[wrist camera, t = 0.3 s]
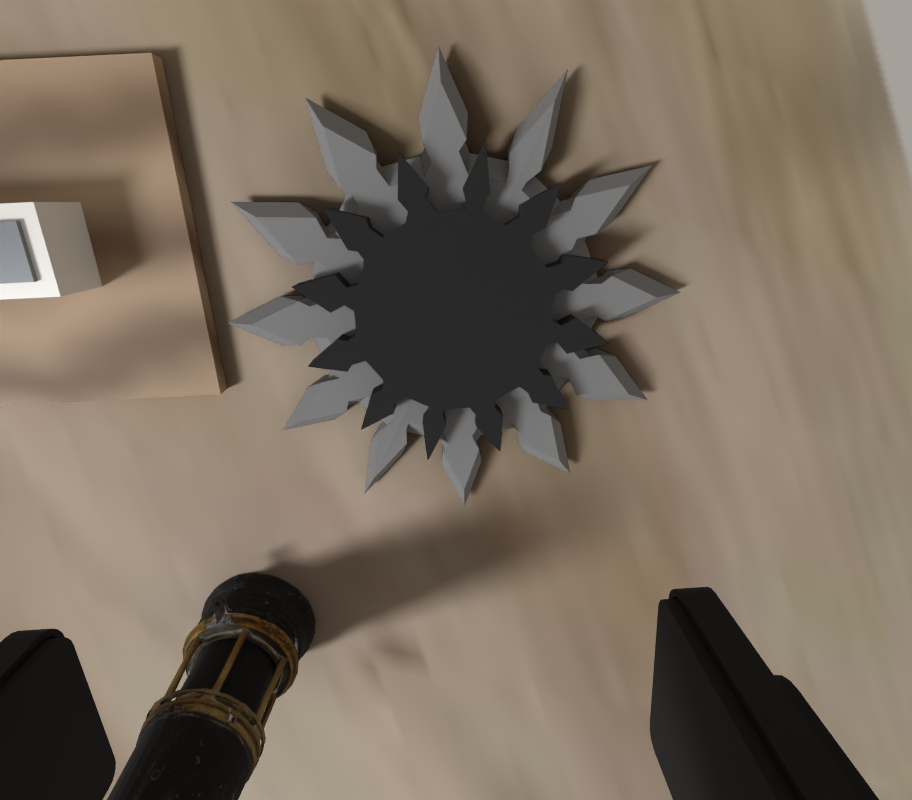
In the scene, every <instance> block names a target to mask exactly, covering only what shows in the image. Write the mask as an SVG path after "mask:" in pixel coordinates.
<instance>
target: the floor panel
mask: <svg viewBox="0 0 912 800" xmlns="http://www.w3.org/2000/svg"><path fill="white" fill-rule="evenodd" d="M23 202H81V206H82V210H83V214H84V218H85V221H86V225H87V229H88V233H89V237H90V241H91V244H92V248H93V252H94V256H95V260H96V264H97V267H98V271H99V275H100V279H101V283H102V287H98V288H94V289H90V290H86V291H82V292H78V293H74V294H70V295H65V296H61V297H44V298H24V299H3V300H0V405H14V404H34V403H54V402H74V401H94V400H114V399H134V398H154V397H174V396H194V395H214V394H221V393H223V392H224V391H225V390H226V389H227V385H226V380H225V375H224V370H223V365H222V360H221V355H220V350H219V345H218V340H217V334H216V329H215V324H214V319H213V314H212V309H211V304H210V299H209V294H208V289H207V284H206V279H205V274H204V269H203V264H202V258H201V253H200V248H199V243H198V238H197V233H196V228H195V223H194V218H193V213H192V208H191V203H190V198H189V193H188V188H187V182H186V177H185V172H184V167H183V162H182V157H181V152H180V147H179V142H178V137H177V132H176V127H175V122H174V117H173V112H172V107H171V101H170V96H169V91H168V86H167V81H166V76H165V71H164V66H163V61H162V58H161V57H159V56H157V55H155V54H153V53H136V54H116V55H95V56H74V57H54V58H33V59H12V60H0V204H3V203H23Z"/></svg>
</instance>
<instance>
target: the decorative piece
mask: <svg viewBox="0 0 912 800" xmlns="http://www.w3.org/2000/svg"><path fill="white" fill-rule="evenodd" d="M567 71H568V69H567ZM567 71H566V72H565V73H564V74H563V75H562V76H561V78H560V79H559V80H558V81H557V82H556V83H555V85H554V86H553V87H552V88H551V89H550V90H549V92H548V93H547V94H546V95H545V96H544V98H543V99H542V100H541V101H540V102H539V103H538V105H537V106H536V107H535V108H534V109H533V110H532V112H531V113H530V114H529V115H528V116H527V117H526V119H525V120H524V121H523V122H522V123H521V124H520V126H519V127H518V128H517V129H516V131H515V134H514V136H513V139H512V141H511V144H510V146H509V149H508V161H505V160H500V159H495V158H491V157H487V148H486V140H485V142H484V144H483V146H482V148H481V150H480V152H479V154H478V155H476V154H471V153H469V150H468V148H467V145H466V143H465V141H466V139H467V122H468V112H467V110H466V107H465V105H464V103H463V101H462V98H461V96H460V94H459V91H458V89H457V87H456V85H455V82H454V80H453V78H452V76H451V73H450V71H449V69H448V67H447V64H446V62H445V60H444V57H443V55H442V53H441V51H440V48H439V46H438V50H437V53H436V57H435V60H434V64H433V68H432V71H431V75H430V79H429V82H428V86H427V90H426V93H425V97H424V100H423V104H422V108H421V111H420V115H419V123H420V129H421V135H422V141H423V145H424V147H425V149H424V151H423V153H422V155H421V156H418V157H415V158H411V159H408V160H405V159H404V157H403V156H402V155H401V154H400V153H399V152H398V162H397V163H394V164H390V165H387V166H383V167H381V166H380V164H379V163H378V162H377V151H376V149H375V147H374V145H373V144H372V142H371V140H370V138H369V136H368V135H367V133H366V131H364V130H363V129H361V128H359V127H357V126H355V125H354V124H352V123H350V122H348V121H346V120H345V119H343V118H341V117H339V116H337V115H336V114H334V113H332V112H330V111H328V110H327V109H325V108H323V107H321V106H319V105H318V104H316V103H314V102H312V101H310V100H309V99H307V98H305V99H306V102H307V105H308V109H309V112H310V115H311V119H312V122H313V125H314V129H315V132H316V136H317V139H318V142H319V146H320V149H321V152H322V156H323V159H324V162H325V166H326V169H327V172H328V173H329V174H330V176H331V177H332V178H333V180H334V181H335V182H336V184H337V185H338V186H339V188H340V189H341V190H342V191H344V192H346V196H345V199H344V202H343V204H342V206H341V208H340V209H339V210H335V209H331V208H323V210H324V212H325V213H326V215H327V217H328V218H329V220H330V221H331V222H330V224H329V225H328V226H325V225H324V223H323V222H322V220H321V218H320V216H319V214H318V213H317V212H315V211H313V210H311V209H309V208H308V207H306V206H304V205H302V204H300V203H299V202H231V203H232V204H233V205H234V206H235V207H236V208H237V209H238V210H239V212H240V213H241V214H242V215H243V216H244V217H245V218H246V219H247V220H248V222H249V223H250V224H251V225H252V226H253V227H254V228H255V229H256V230H257V232H258V233H259V234H260V235H261V236H262V237H263V238H264V239H265V240H266V242H267V243H268V244H269V245H270V246H271V247H272V248H273V249H274V250H275V252H276V253H277V254H278V255H279V256H281V257H283V258H285V259H287V260H289V261H291V262H293V263H296V264H298V265H299V264H303V263H308V262H312V261H313V262H314V265H313V273H312V280H308V281H305V282H301V283H299V284H297V285H295V286H293V287H292V288H294V289H295V290H297V291H298V292H300V293H301V294H303V295H304V296H306V298H305V297H303V296H283V297H279V298H277V299H275V300H273V301H271V302H269V303H267V304H265V305H263V306H261V307H259V308H257V309H254V310H252V311H250V312H248V313H246V314H244V315H242V316H240V317H238V318H236V319H234V320H232V321H230V322H228V324H231V325H233V326H236V327H238V328H241V329H243V330H246V331H248V332H250V333H253V334H255V335H258V336H260V337H263V338H265V339H268V340H270V341H272V342H275V343H277V344H280V345H282V346H293V345H302V344H303V343H304V342H305V341H306V340H307V339H308V338H314V340H315V342H316V344H317V346H318V348H319V349H320V351H321V353H320V354H319V355H318V356H317V357H316V358H315V359H314V360H313V361H312V362H311V363H310V364H309V367H316V368H323V369H330V370H331V371H330V374H329V375H325V376H323V377H322V378H320V379H319V380H317V381H316V382H314V383H313V384H312V385H310V386H309V387H308V388H307V390H306V391H305V393H304V395H303V396H302V398H301V400H300V401H299V403H298V405H297V407H296V408H295V410H294V412H293V413H292V415H291V417H290V418H289V420H288V422H287V423H286V425H285V427H284V428H283V430H286V429H291V428H296V427H300V426H305V425H310V424H315V423H320V422H325V421H329V420H334V419H336V418H337V417H339V416H340V415H342V414H343V413H345V412H346V410H347V406H348V405H350V404H354V403H359V404H361V405H362V406H363V407H365V408H366V409H367V411H366V414H365V418H364V421H363V425H362V428H361V430H362V429H364V428H366V427H368V426H370V425H372V424H374V423H376V422H378V421H380V420H382V421H383V422H382V423H381V424H380V425H379V427H378V429H377V430H376V432H375V434H374V436H373V438H372V440H371V443H370V451H369V460H368V468H367V476H366V485H365V493H366V491H367V490H368V489H369V488H370V487H371V486H372V485H373V484H374V483H375V482H376V481H377V480H378V479H379V478H380V477H381V476H382V475H383V474H384V472H385V471H386V470H387V469H388V468H389V467H390V466H391V465H392V464H393V463H394V462H395V461H396V460H397V459H398V458H399V457H400V456H401V455H402V453H403V451H404V449H405V446H406V444H407V432H408V433H414V434H420V435H424V437H425V444H426V451H427V459H429V457H430V456H431V454H432V452H433V450H434V448H435V446H436V444H437V442H438V441H439V439H441V441H442V443H443V448H442V466H443V468H444V470H445V472H446V474H447V475H448V477H449V479H450V481H451V482H452V484H453V486H454V488H455V489H456V491H457V493H458V495H459V496H460V498H461V500H462V502H463V503H464V505H465V503H466V501H467V498H468V495H469V493H470V490H471V487H472V485H473V482H474V479H475V477H476V474H477V472H478V469H479V466H480V464H481V456H480V450H479V444H478V441H477V440H478V439H479V437H480V436H481V435H485V436H486V438H487V439H488V440H489V441H490V442H491V443H492V444H493V445H494V446H495V447H496V448H497V449H498V450H499V451H500V448H501V436H502V430H505V429H509V428H513V427H515V429H516V430H517V435H518V437H519V443H520V445H521V446H522V448H523V450H524V451H525V452H526V453H528V454H530V455H532V456H535V457H537V458H539V459H541V460H543V461H545V462H547V463H549V464H551V465H554V466H556V467H558V468H560V469H562V470H564V471H566V472H568V473H570V470H569V465H568V460H567V454H566V449H565V444H564V439H563V434H562V428H561V424H560V422H559V421H558V420H557V419H556V417H555V416H554V415H553V414H552V412H551V411H550V410H549V409H548V408H547V406H553V407H558V408H563V409H568V407H567V405H566V403H565V401H564V399H563V397H562V395H561V393H560V391H559V389H560V388H561V387H562V386H563V385H564V384H565V382H566V381H570V382H571V384H572V386H573V388H574V391H575V393H576V394H577V395H579V396H581V397H583V398H586V399H588V400H647V399H646V397H645V396H644V394H643V393H642V392H641V390H640V389H639V388H638V386H637V385H636V384H635V382H634V381H633V380H632V378H631V377H630V375H629V374H628V373H627V371H626V370H625V369H624V367H623V366H622V365H621V363H620V362H619V361H618V359H617V358H616V356H613V355H611V354H609V353H606V352H604V351H602V350H599V349H597V348H595V349H591V350H586V351H585V349H588V348H592V347H596V346H600V345H603V344H607V343H608V342H607V341H606V340H605V339H604V338H602V337H601V336H600V335H599V334H597V333H596V332H595V331H593V330H592V329H591V328H592V326H593V324H594V323H595V321H596V320H597V318H598V317H599V318H600V319H602V320H604V321H608V320H616V319H622V318H625V317H627V316H629V315H631V314H633V313H636V312H638V311H640V310H642V309H645V308H647V307H649V306H651V305H654V304H656V303H658V302H660V301H662V300H665V299H667V298H669V297H671V296H674V295H676V294H678V293H680V292H678V291H676V290H674V289H672V288H670V287H668V286H666V285H664V284H662V283H660V282H658V281H655V280H653V279H651V278H649V277H647V276H645V275H643V274H641V273H639V272H637V271H635V270H633V269H630V268H628V269H619V270H610V271H607V272H606V273H605V274H603V275H602V276H601V277H597V274H596V272H597V271H598V270H599V269H601V268H602V267H603V266H604V265H606V264H607V263H608V262H606V261H604V260H601V259H596V258H591V257H590V254H589V251H588V248H587V245H586V242H585V240H586V238H587V236H590V235H594V234H597V233H598V232H599V231H600V230H602V229H603V228H604V227H606V226H607V225H608V224H610V223H611V222H612V221H613V220H614V218H615V217H616V216H617V214H618V213H619V211H620V210H621V209H622V207H623V206H624V204H625V203H626V201H627V200H628V199H629V197H630V196H631V194H632V193H633V192H634V190H635V189H636V187H637V186H638V185H639V183H640V182H641V180H642V179H643V177H644V176H645V175H646V173H647V172H648V170H649V169H650V168H651V166H652V165H651V166H647V167H643V168H638V169H634V170H629V171H625V172H621V173H616V174H612V175H607V176H603V177H599V178H594V179H590V180H589V181H588V182H586V183H585V184H584V185H582V186H581V187H580V188H579V189H577V190H576V191H575V192H573V193H572V196H571V198H570V199H567V200H563V201H560V200H559V199H558V198H557V195H558V192H559V189H560V186H561V184H557V185H554V186H552V187H550V188H548V189H547V188H546V187H545V186H544V185H543V184H542V183H541V182H540V181H539V180H538V179H537V178H536V177H535V175H536V174H537V173H539V172H540V171H541V170H542V168H543V165H544V163H545V161H546V159H547V157H548V155H549V153H550V151H551V149H552V145H553V140H554V135H555V130H556V125H557V120H558V115H559V111H560V106H561V101H562V96H563V91H564V86H565V81H566V76H567ZM568 410H569V409H568ZM365 493H364V494H365Z"/></svg>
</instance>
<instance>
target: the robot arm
mask: <svg viewBox="0 0 912 800" xmlns="http://www.w3.org/2000/svg"><path fill="white" fill-rule="evenodd" d="M650 734H651V740H652V744H653V748H654V751H655V754H656V756H657V759H658V762H659V764H660V767H661V769H662V772H663V775H664V777H665V780H666V782H667V785H668V787H669V790H670V793H671V795H672V798H673V800H879V799H878V798H877V796H876V795H875V794H874V792H873V791H872V789H871V788H870V787H869V785H868V784H867V783H866V781H865V780H864V779H863V777H862V776H861V775H860V773H859V772H858V770H857V769H856V768H855V766H854V765H853V764H852V762H851V761H850V760H849V758H848V757H847V755H846V754H845V753H844V751H843V750H842V749H841V747H840V746H839V745H838V743H837V742H836V741H835V739H834V738H833V736H832V735H831V734H830V732H829V731H828V730H827V728H826V727H825V726H824V724H823V723H822V722H821V720H820V719H819V717H818V716H817V715H816V713H815V712H814V711H813V709H812V708H811V707H810V705H809V704H808V703H807V701H806V700H805V698H804V697H803V696H802V694H801V693H800V692H799V690H798V689H797V688H796V687H795V686H794V685H793V684H792V682H791V681H790V680H788V679H787V678H785V677H783V676H782V675H773V674H772V672H771V671H770V670H769V668H768V667H767V665H766V664H765V662H764V661H763V660H762V658H761V657H760V655H759V654H758V653H757V651H756V650H755V648H754V647H753V645H752V644H751V643H750V641H749V640H748V638H747V637H746V636H745V634H744V633H743V631H742V630H741V628H740V627H739V626H738V624H737V623H736V621H735V620H734V619H733V617H732V616H731V614H730V613H729V611H728V610H727V609H726V607H725V606H724V604H723V603H722V602H721V600H720V599H719V597H718V596H717V594H716V593H715V592H714V591H713V590H712V589H711V588H709V587H699V588H683V589H673V590H671V592H670V594H669V599H664V600H660V602H659V606H658V619H657V633H656V646H655V660H654V674H653V688H652V702H651V716H650ZM115 765H116V762H115V757H114V755H113V752H112V749H111V746H110V744H109V741H108V738H107V735H106V733H105V730H104V727H103V724H102V722H101V719H100V716H99V713H98V711H97V708H96V705H95V702H94V700H93V697H92V694H91V691H90V689H89V686H88V683H87V680H86V678H85V675H84V672H83V669H82V667H81V664H80V661H79V658H78V656H77V653H76V650H75V647H74V645H73V643H72V641H71V640H70V639H68V638H65V637H64V635H63V633H62V632H60V631H59V630H58V629H41V630H26V631H17V632H14V633H11V634H10V635H9V636H7V637H6V638H5V639H4V640H3V641H1V642H0V800H103V798H104V796H105V794H106V793H107V791H108V789H109V787H110V785H111V783H112V781H113V777H114V774H115Z"/></svg>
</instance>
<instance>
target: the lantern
mask: <svg viewBox="0 0 912 800" xmlns="http://www.w3.org/2000/svg"><path fill="white" fill-rule="evenodd" d="M314 633H315V618H314V614H313V612H312V609H311V606H310V604H309V602H308V601H307V599H306V598H305V597H304V596H303V595H302V594H301V593H300V591H299V590H298V589H296V588H295V587H293V586H292V585H290V584H289V583H287V582H285V581H283V580H281V579H278V578H276V577H272V576H267V575H261V574H255V573H253V574H246V575H239V576H235V577H232V578H230V579H228V580H227V581H225V582H223V583H222V584H220V585H219V586H218V587H217V588H215V589H214V591H213V592H212V593H211V594H210V596H209V597H208V599H207V600H206V602H205V605H204V608H203V612H202V618H201V620H200V622H199V623H198V625H197V626H196V627H195V628H194V629H193V630H192V631H191V632H190V633H189V635H188V636H187V638H186V640H185V644H184V647H183V662H182V664H181V666H180V668H179V670H178V671H177V673H176V675H175V677H174V679H173V681H172V683H171V685H170V687H169V688H168V690H167V692H166V694H165V696H164V697H162V698H161V699H160V700H158V701H157V702H155V703H154V705H153V706H152V708H151V709H150V711H149V712H148V714H147V717H146V721H145V722H144V724H143V727H142V729H141V732H140V734H139V737H138V740H137V744H136V747H135V749H134V751H133V753H132V755H131V757H130V758H129V760H128V762H127V764H126V766H125V768H124V769H123V771H122V773H121V775H120V777H119V779H118V780H117V782H116V784H115V786H114V788H113V790H112V791H111V793H110V795H109V797H108V799H107V800H238V799H239V796H240V794H241V792H242V790H243V788H244V786H245V783H246V782H247V781H248V780H249V778H250V776H251V774H252V772H253V771H254V769H255V767H256V765H257V763H258V761H259V758H260V756H261V754H262V751H263V747H264V743H265V739H266V738H265V733H264V727H265V724H266V722H267V719H268V717H269V715H270V712H271V710H272V707H273V705H274V703H275V700H276V698H278V697H280V696H281V695H283V694H284V693H285V692H286V691H287V690H288V689H289V688H290V687H291V686H292V684H293V682H294V680H295V678H296V675H297V673H298V662H299V660H300V658H301V657H302V656H303V655H304V654H305V653H306V651H307V650H308V648H309V646H310V644H311V642H312V639H313V636H314ZM185 669H186V673H187V676H188V677H187V679H186V681H185V683H184V685H183V686H182V688H181V690H178V691H175V690H176V688H177V686H178V684H179V682H180V680H181V678H182V675H183V673H184V671H185ZM175 697H177V698H176V699H175V700H174V701H171V700H172V699H173V698H175ZM267 703H268V704H267ZM265 708H266V709H265ZM264 710H265V711H264ZM263 713H264V714H263ZM262 716H263V717H262ZM261 718H262V719H261ZM260 721H261V722H260ZM260 739H261V741H262V743H261V746H260Z"/></svg>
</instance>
